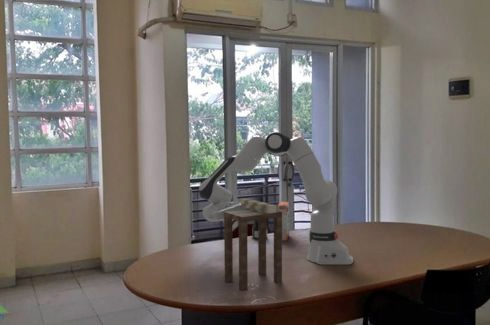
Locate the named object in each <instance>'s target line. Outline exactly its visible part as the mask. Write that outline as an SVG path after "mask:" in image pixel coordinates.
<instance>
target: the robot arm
mask: <svg viewBox="0 0 490 325" xmlns="http://www.w3.org/2000/svg"><path fill="white" fill-rule="evenodd" d="M266 154H269V155H271V156H275V157H282V156H285V155H286V154H287V156H289V157H290V159H291V161H292V163H293V164H294V167H295V168H296V170H297V172H298V175H299V176H300V178H301V182H302V185H303V187H304V191H305V198H306V201H307V202H308V203H309V204H311V205H312V209H311V212H310V230H309V233H308V234H309V237H308V238H309V239H308V240H309V249H308V252H307V257H306V259H307V261H309V262H312V263H315V264H318V265H337V266H338V265H339V266H340V265H351V264H353V263H354V257H353V256H352V255H350V254H349V249H348V247H347V245H345V244H344V243H343V242H341V241H340V240H338V238H339V235H338V233H337V231H334V216H335V215H334V212H335V209H336V208H335V207H336V200H337V195H338V187H337V185H336V183H335V182H333V181H331V180H329V179H324V176H323V173H322V166H321V164H320V162H319V161H318V158H317V157H316V155H315V153H314V151H313V150H312V148H311V146H310V145H309V144H308V142H307V141H306V140H305V139H304V138H303V137H301V136H296V137H293V138H291V139H290V138H289V137H288V136H286V135H285V134H283V133H281V132H280V131H273V132H270V133H269V134H268V135H267V136H266V138H264V137H262V136H260V135H254V136H252V137H251V138H250V139H249V140H248V141H247V142H246V143H245V145H244V146H243V147H242V148H241V150H240V151H239V152H238V153H237V154H234V155H230V156H228V157H227V158H226V159H225V160H224V161H223V162H222V163H221V164H220V165H219V166H218V167H217V168H216V169H215V170H214V171H212V173H211V174H210V175H209V176H208V177H207V178H206V179H204V180H203V181H202V182H201V183H200V185H199V187H198V194H199V196H200V198H201V199H204V200H206V201H208V202H210V204H209V205H206V206H205V207H203V209H202V217H203V218H204V219H205V220H206V221H209V222H212V223H213V222H215V223H216V222H224V212H227V211H235V210H243V209H247V207H243V206H241V201H238V200H234V197H233V193H232V192H231V191H230V190H228V189H227V188H225V187H223V186H222V185H220V184H218V183H219V181H220V180H221V179H222V178H223V177H224V176H225V175H226V174H227V173H228V172H230V171H239V172H250V171H253V170H255V168H256V167H257V166H258V165H259V163H260V161H261V160H262V158H264V156H265V155H266Z"/></svg>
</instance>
